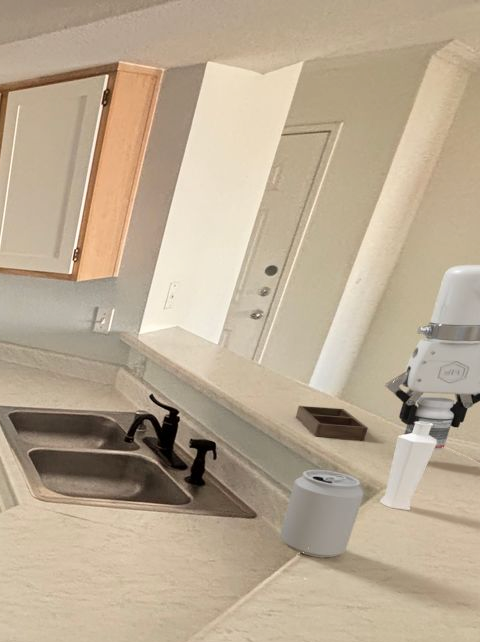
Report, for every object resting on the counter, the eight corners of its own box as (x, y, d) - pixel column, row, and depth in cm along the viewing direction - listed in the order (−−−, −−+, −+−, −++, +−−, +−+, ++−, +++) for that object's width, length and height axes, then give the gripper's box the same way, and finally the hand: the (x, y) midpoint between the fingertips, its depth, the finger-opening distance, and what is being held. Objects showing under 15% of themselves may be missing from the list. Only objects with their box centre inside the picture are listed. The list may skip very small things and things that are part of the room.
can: (267, 535, 94) (286, 466, 90) (322, 537, 93) (343, 467, 89) (297, 558, 87) (319, 485, 83) (356, 562, 86) (381, 487, 82)
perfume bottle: (423, 511, 99) (454, 427, 94) (393, 510, 100) (422, 427, 95) (400, 499, 103) (429, 419, 98) (371, 499, 104) (398, 419, 99)
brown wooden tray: (339, 420, 144) (343, 408, 143) (364, 440, 131) (368, 427, 130) (295, 417, 148) (298, 405, 147) (314, 436, 135) (318, 423, 134)
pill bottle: (402, 440, 121) (415, 394, 118) (443, 445, 117) (458, 397, 114) (400, 447, 118) (414, 400, 115) (443, 453, 114) (458, 404, 111)
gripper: (401, 335, 111) (376, 426, 117) (537, 336, 103) (503, 433, 109) (385, 330, 118) (362, 416, 123) (512, 330, 109) (482, 422, 115)
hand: (429, 423), depth 116 cm, fingers closed on pill bottle, 5 cm apart
